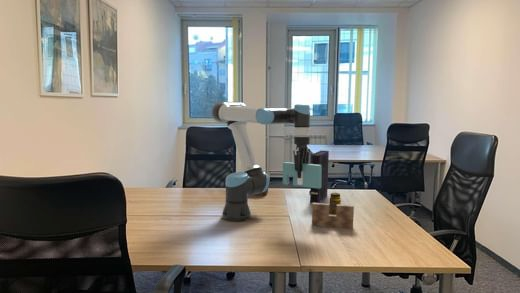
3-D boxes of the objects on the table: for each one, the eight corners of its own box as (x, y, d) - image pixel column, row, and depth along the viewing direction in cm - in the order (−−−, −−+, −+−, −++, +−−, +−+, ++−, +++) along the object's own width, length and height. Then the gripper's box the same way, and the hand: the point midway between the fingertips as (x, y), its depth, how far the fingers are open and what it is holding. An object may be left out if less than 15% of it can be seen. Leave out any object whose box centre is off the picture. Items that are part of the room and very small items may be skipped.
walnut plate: (311, 225, 191) (312, 203, 190) (312, 223, 193) (312, 202, 192) (352, 228, 187) (353, 206, 186) (352, 227, 189) (353, 205, 188)
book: (318, 194, 258) (320, 150, 254) (327, 195, 255) (329, 150, 252) (309, 202, 236) (310, 154, 233) (319, 203, 234) (320, 155, 230)
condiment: (343, 215, 209) (344, 194, 208) (332, 218, 204) (333, 196, 203) (334, 212, 215) (334, 191, 214) (322, 214, 210) (323, 193, 209)
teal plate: (282, 184, 192) (282, 162, 191) (285, 183, 194) (285, 162, 193) (319, 188, 181) (319, 165, 180) (321, 187, 183) (321, 165, 182)
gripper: (301, 137, 177) (300, 187, 179) (316, 135, 190) (315, 182, 192) (287, 136, 181) (287, 185, 183) (302, 135, 194) (302, 180, 196)
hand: (301, 183), depth 188 cm, fingers closed on teal plate, 2 cm apart
